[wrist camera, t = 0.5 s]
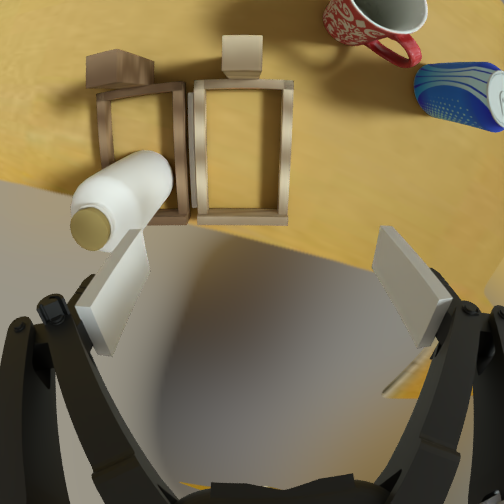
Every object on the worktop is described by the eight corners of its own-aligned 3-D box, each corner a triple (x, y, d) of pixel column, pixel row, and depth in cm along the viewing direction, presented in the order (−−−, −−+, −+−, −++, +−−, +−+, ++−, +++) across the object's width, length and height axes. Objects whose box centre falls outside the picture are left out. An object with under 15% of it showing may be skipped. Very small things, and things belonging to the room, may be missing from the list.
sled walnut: (102, 70, 30) (53, 66, 20) (185, 57, 31) (159, 41, 20) (115, 218, 41) (79, 257, 31) (190, 216, 42) (171, 258, 31)
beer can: (402, 100, 33) (474, 110, 19) (417, 54, 29) (490, 47, 15) (442, 126, 35) (515, 150, 21) (457, 83, 31) (530, 91, 17)
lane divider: (189, 92, 33) (187, 92, 33) (194, 92, 33) (193, 92, 33) (192, 205, 41) (192, 207, 40) (197, 205, 41) (196, 207, 40)
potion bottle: (111, 174, 38) (40, 224, 23) (150, 136, 36) (84, 166, 20) (146, 215, 42) (95, 284, 26) (187, 181, 39) (147, 239, 24)
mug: (301, 7, 27) (326, -31, 16) (355, -12, 25) (396, -46, 13) (350, 83, 33) (396, 79, 21) (400, 62, 30) (457, 55, 19)
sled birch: (197, 57, 31) (175, 39, 20) (291, 57, 31) (310, 39, 20) (200, 216, 42) (184, 259, 31) (285, 217, 42) (297, 260, 31)
